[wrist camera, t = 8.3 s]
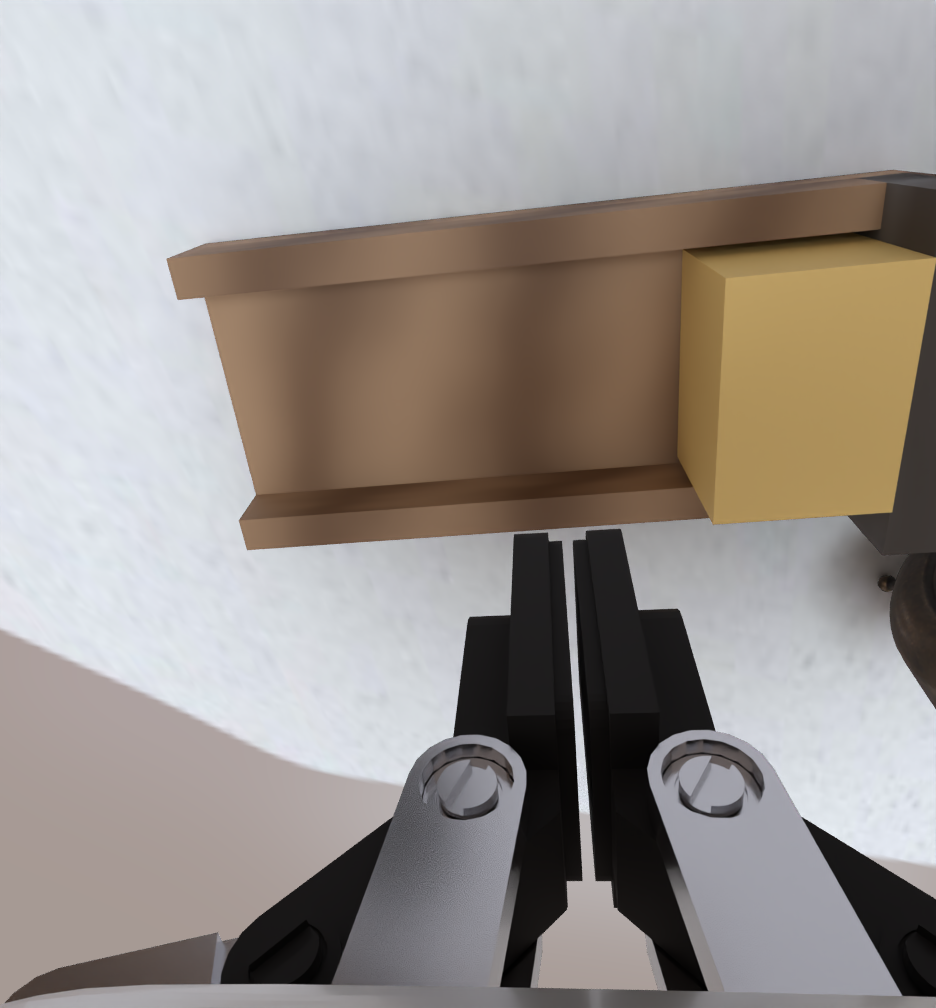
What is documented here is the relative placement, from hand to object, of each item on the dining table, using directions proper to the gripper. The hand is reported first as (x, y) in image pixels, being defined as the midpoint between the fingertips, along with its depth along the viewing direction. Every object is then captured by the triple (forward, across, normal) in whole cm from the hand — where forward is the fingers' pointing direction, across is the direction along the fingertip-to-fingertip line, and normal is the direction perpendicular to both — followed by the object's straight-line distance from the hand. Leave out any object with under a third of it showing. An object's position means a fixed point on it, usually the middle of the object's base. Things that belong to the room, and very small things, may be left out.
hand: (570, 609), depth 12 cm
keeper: (+15, -7, +1) cm, 16 cm away
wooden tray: (+16, 0, +1) cm, 16 cm away
